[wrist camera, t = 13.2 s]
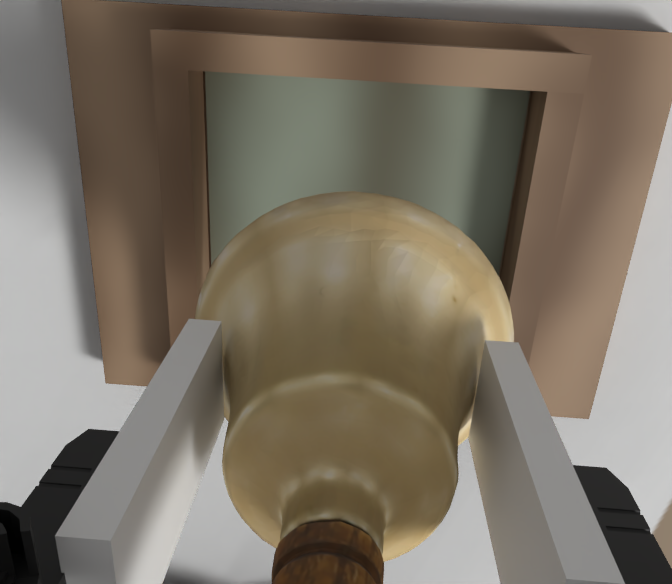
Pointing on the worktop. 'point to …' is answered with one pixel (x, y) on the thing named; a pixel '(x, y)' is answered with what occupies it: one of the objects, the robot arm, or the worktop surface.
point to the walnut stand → (364, 156)
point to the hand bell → (349, 376)
